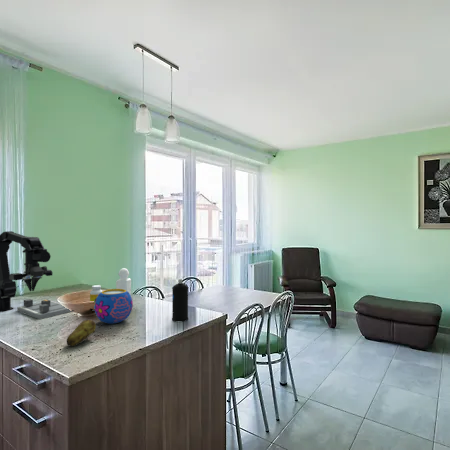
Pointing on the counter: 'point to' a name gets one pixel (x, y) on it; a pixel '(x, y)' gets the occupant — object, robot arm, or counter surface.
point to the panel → (44, 315)
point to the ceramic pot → (113, 305)
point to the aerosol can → (180, 301)
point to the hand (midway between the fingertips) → (31, 291)
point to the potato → (81, 332)
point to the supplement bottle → (95, 292)
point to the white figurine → (124, 280)
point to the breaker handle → (45, 302)
